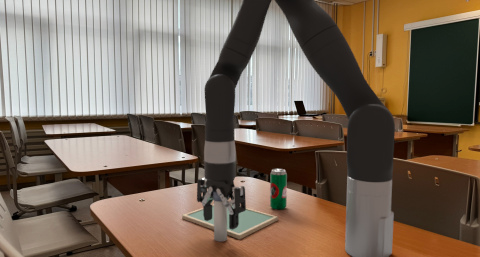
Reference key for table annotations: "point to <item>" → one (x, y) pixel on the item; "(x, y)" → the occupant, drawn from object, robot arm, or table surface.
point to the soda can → (278, 189)
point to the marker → (219, 219)
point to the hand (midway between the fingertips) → (220, 223)
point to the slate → (247, 221)
